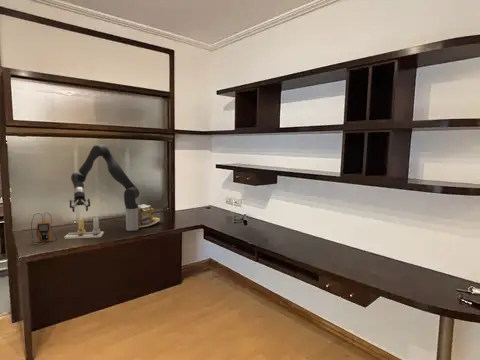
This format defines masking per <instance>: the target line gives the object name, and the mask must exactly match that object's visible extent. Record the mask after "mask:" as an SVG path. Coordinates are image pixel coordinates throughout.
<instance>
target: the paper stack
mask: <svg viewBox="0 0 480 360" xmlns="http://www.w3.org/2000/svg"><path fill="white" fill-rule="evenodd" d="M154 210H155V209H154V208H153V207H152V205H148V204H144V203H142V204H138V217H139V228H145V227H149V226H152V225H155V224H156V223H158V222H160V221H161V220H160V219H161V218H159V217H155V216H154V214H155V213H154V212H155V211H154Z"/></svg>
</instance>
